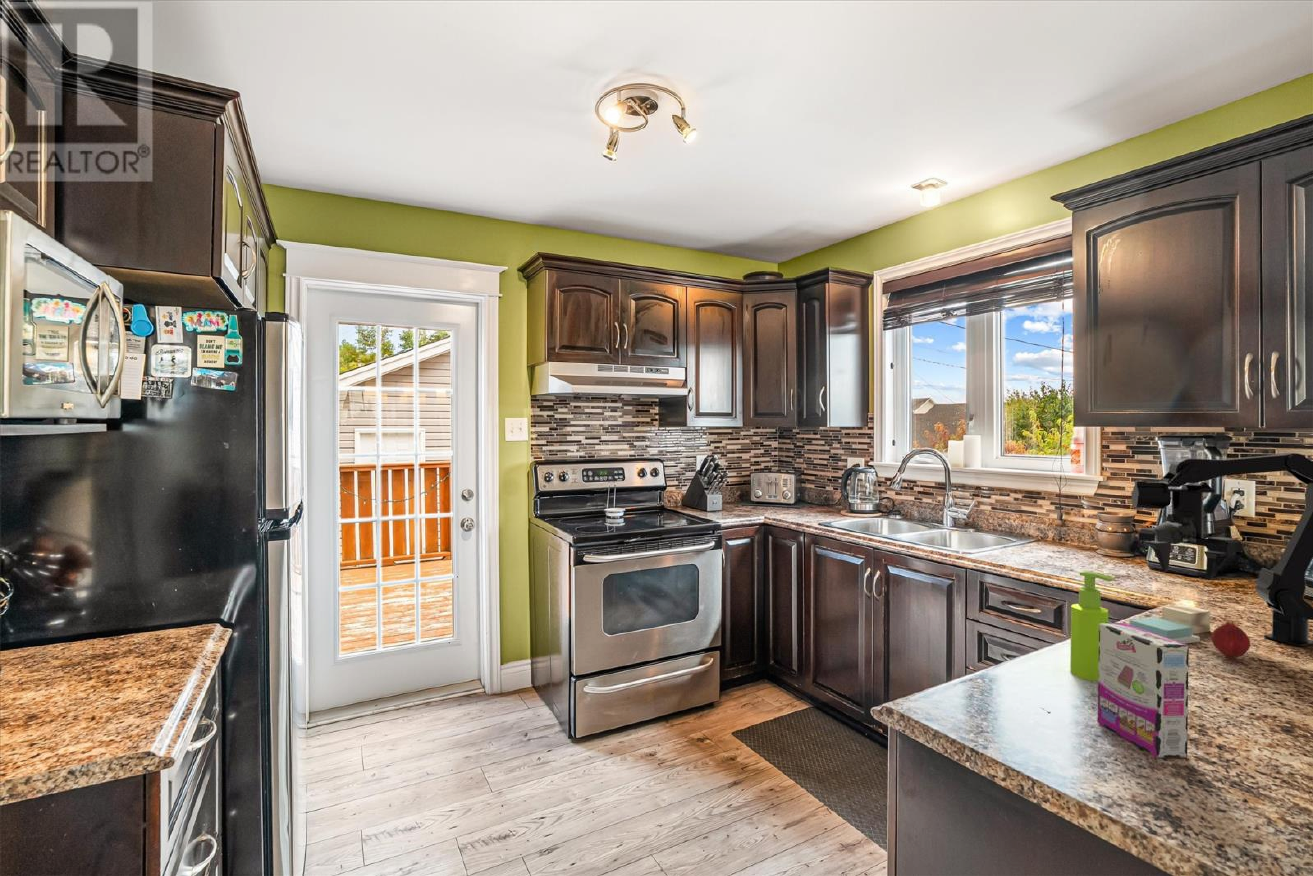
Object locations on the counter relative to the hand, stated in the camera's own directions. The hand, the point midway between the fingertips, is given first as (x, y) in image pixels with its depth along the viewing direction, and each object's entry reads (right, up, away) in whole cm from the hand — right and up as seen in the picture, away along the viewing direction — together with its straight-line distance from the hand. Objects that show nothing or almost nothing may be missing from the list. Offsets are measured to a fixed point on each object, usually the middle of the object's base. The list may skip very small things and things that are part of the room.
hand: (1186, 575), depth 146 cm
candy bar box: (-53, -13, -53) cm, 76 cm away
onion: (-7, -13, -19) cm, 24 cm away
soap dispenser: (-43, -13, -28) cm, 53 cm away
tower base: (-11, -13, -5) cm, 18 cm away
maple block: (0, -13, 0) cm, 13 cm away
